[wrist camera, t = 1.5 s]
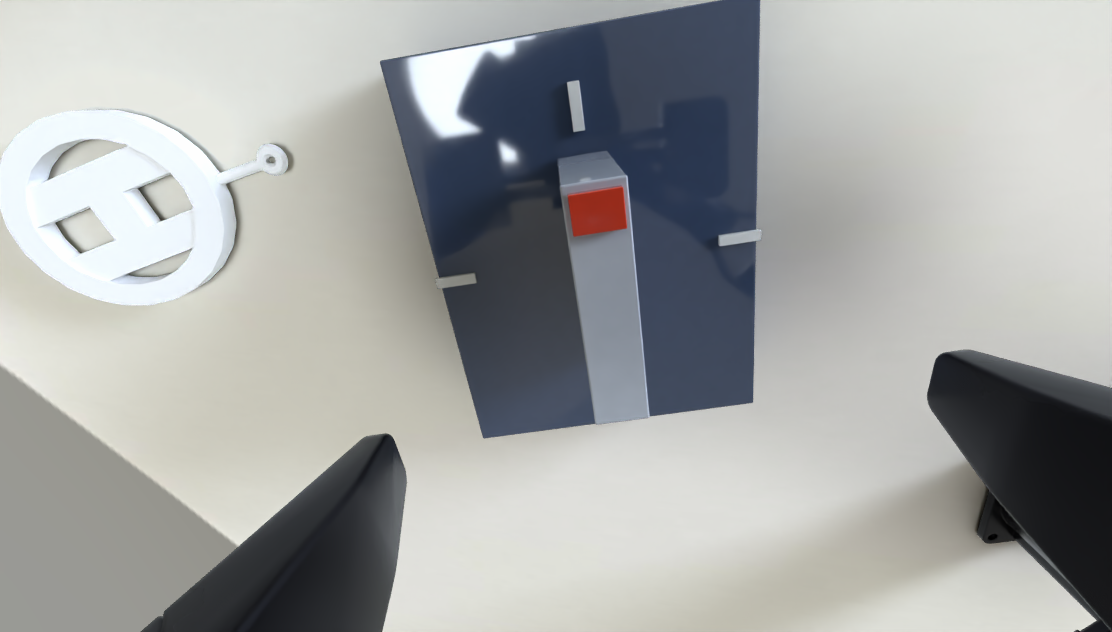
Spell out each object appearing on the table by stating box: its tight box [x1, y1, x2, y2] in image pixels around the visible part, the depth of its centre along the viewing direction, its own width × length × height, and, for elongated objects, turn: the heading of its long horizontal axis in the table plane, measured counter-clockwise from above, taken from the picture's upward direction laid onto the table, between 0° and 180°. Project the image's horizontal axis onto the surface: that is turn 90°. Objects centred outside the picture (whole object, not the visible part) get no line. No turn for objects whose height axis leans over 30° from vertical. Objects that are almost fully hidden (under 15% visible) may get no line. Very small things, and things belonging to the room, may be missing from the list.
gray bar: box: [557, 151, 650, 425], centre depth 15 cm, size 7×2×5 cm, turn 9°
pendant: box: [0, 110, 288, 305], centre depth 19 cm, size 7×11×1 cm, turn 110°
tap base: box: [380, 0, 761, 438], centre depth 18 cm, size 14×11×3 cm
